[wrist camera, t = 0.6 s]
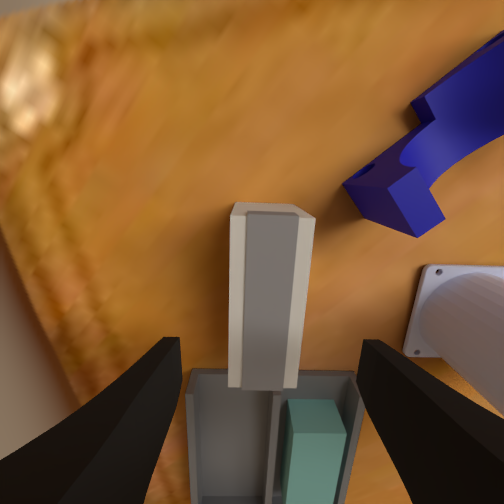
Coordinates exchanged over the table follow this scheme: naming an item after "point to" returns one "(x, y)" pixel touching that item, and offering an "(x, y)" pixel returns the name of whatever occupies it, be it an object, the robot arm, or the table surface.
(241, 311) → the grey striped bar
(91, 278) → the table surface
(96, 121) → the table surface
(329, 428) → the teal rectangular prism
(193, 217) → the table surface
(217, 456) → the grey divided tray
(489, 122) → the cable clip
